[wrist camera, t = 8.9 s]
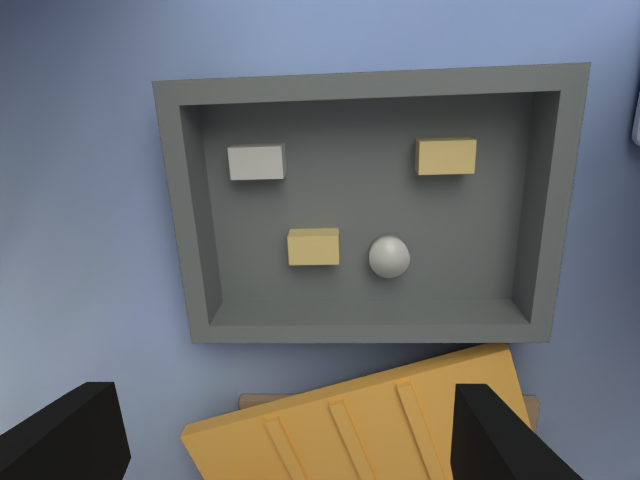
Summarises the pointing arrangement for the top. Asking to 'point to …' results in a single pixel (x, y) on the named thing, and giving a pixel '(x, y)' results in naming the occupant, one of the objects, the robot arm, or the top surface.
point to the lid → (355, 424)
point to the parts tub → (373, 202)
